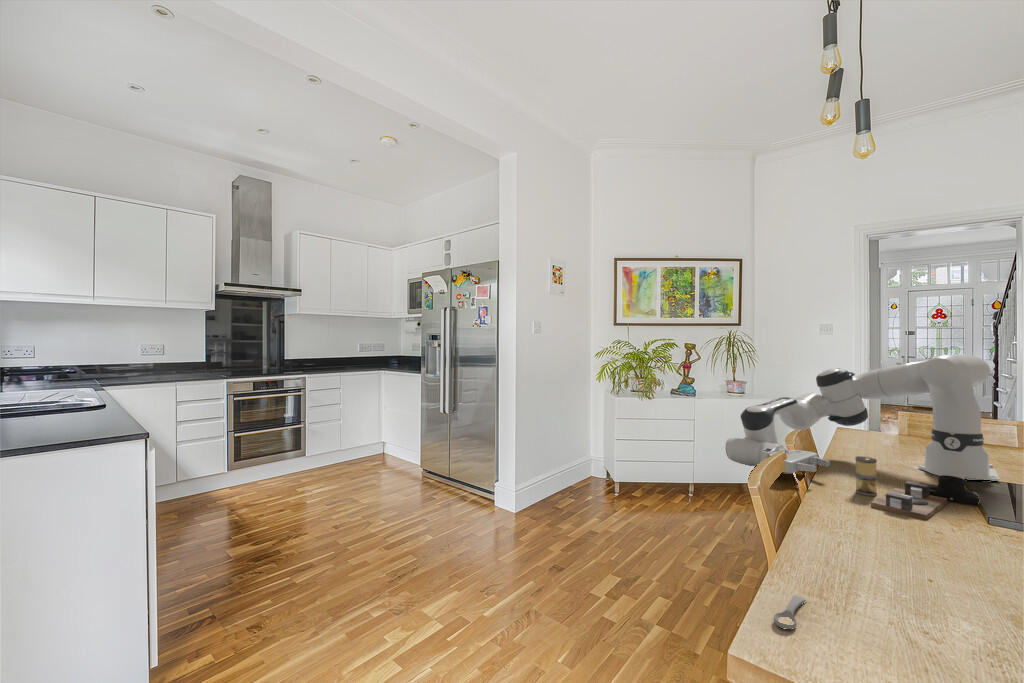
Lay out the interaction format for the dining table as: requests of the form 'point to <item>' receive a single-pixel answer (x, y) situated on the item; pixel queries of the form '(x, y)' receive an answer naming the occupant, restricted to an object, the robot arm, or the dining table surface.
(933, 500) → the board
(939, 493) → the film camera
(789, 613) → the grey bottle opener
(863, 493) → the yellow and grey cylinder
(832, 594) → the dining table surface
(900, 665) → the dining table surface
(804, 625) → the dining table surface
